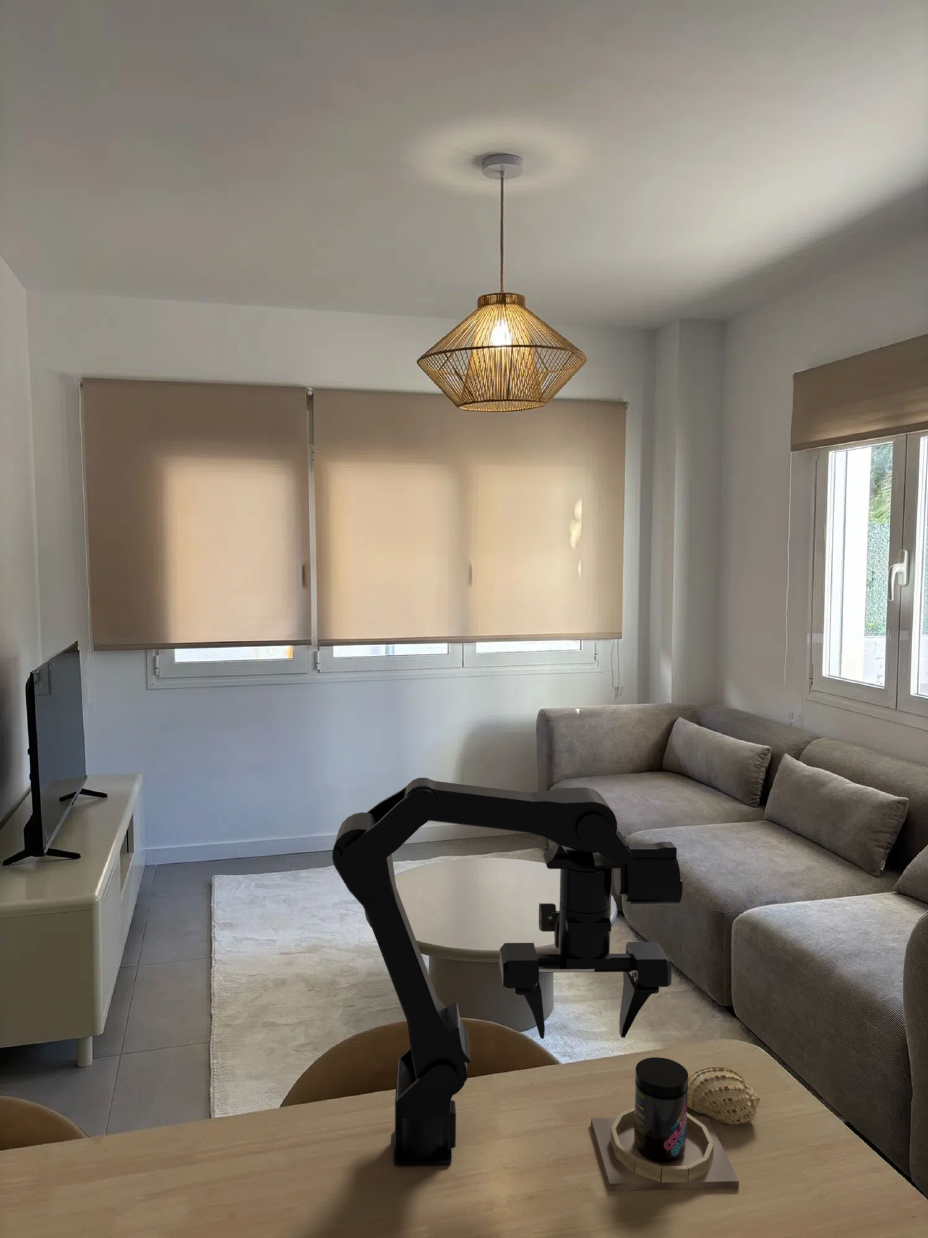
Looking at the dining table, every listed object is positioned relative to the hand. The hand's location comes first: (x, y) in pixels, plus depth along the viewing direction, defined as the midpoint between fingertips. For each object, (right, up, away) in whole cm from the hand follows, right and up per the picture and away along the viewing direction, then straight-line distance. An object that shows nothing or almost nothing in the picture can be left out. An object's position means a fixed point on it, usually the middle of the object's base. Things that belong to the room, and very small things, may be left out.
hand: (582, 1036), depth 103 cm
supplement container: (+9, -13, -1) cm, 15 cm away
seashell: (+17, -13, +8) cm, 23 cm away
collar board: (+9, -13, 0) cm, 16 cm away
